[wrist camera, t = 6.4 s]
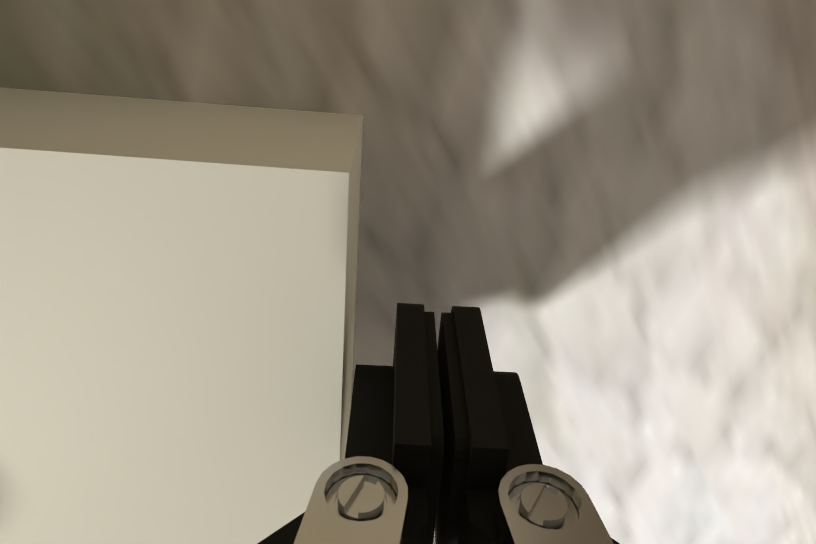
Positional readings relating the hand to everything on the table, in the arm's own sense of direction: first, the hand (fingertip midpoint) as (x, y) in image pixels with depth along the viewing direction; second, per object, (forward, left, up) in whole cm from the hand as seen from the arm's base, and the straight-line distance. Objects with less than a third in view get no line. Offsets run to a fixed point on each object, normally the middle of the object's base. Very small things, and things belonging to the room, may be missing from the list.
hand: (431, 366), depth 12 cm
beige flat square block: (0, -7, -3) cm, 7 cm away
